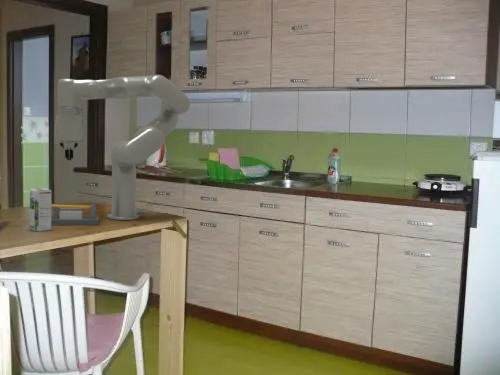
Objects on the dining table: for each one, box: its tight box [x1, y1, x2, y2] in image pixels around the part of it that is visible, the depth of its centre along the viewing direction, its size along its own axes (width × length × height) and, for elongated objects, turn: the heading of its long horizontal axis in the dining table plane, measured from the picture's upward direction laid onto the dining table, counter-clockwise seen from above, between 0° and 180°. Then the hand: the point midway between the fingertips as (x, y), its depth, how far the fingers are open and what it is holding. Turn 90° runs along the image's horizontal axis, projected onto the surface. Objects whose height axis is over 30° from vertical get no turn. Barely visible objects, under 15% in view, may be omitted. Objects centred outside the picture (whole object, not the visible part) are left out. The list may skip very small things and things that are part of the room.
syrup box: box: [29, 187, 52, 232], centre depth 189 cm, size 6×6×14 cm
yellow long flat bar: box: [51, 204, 94, 210], centre depth 205 cm, size 16×3×1 cm, turn 106°
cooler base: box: [51, 203, 99, 226], centre depth 205 cm, size 18×10×7 cm, turn 106°
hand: (69, 159), depth 206 cm, fingers closed
